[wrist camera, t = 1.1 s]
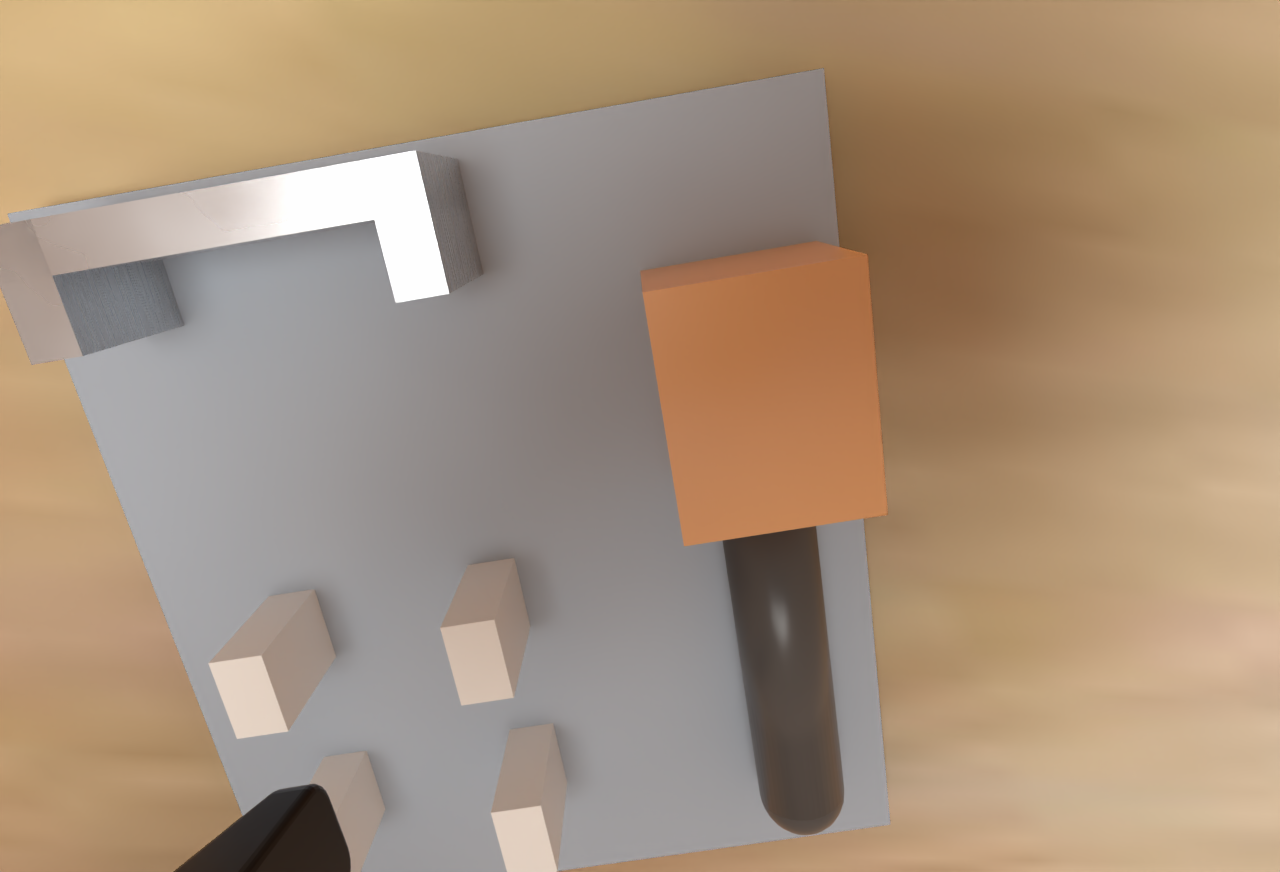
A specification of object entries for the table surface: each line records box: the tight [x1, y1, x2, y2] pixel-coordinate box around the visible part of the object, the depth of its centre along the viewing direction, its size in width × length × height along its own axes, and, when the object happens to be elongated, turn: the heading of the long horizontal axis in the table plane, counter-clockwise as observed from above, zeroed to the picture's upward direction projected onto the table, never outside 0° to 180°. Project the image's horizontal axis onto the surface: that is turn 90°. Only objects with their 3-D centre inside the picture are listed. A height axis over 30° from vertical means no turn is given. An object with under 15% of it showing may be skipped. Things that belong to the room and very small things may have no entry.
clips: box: [208, 558, 567, 872], centre depth 20 cm, size 7×6×3 cm
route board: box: [8, 68, 890, 872], centre depth 20 cm, size 20×18×1 cm
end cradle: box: [0, 151, 484, 365], centre depth 16 cm, size 2×8×4 cm, turn 99°
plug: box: [640, 241, 888, 835], centre depth 18 cm, size 15×4×4 cm, turn 9°
